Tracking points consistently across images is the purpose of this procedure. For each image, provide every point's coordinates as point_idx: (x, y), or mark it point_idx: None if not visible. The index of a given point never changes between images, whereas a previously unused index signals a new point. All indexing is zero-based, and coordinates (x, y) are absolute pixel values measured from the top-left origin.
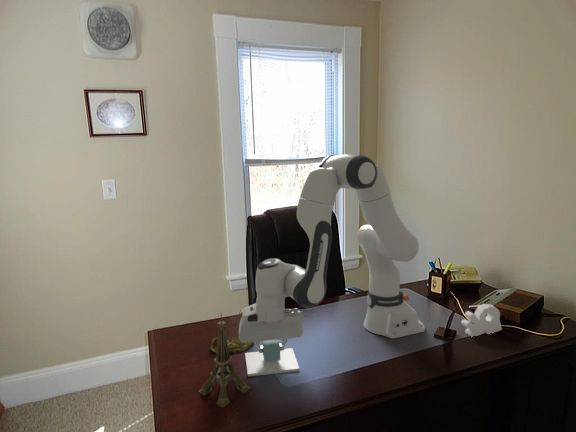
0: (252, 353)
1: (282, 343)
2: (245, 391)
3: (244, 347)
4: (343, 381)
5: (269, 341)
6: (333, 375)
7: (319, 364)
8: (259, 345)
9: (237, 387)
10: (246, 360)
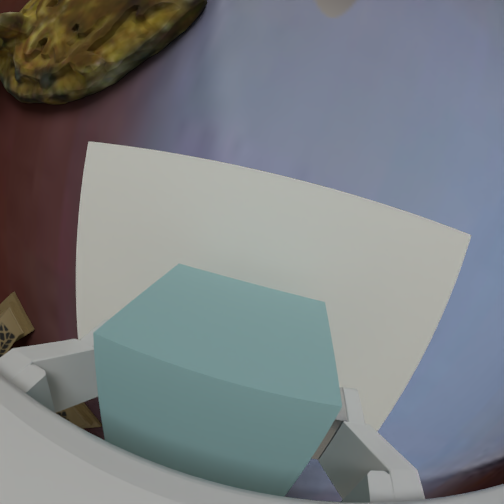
0: (130, 167)
1: (337, 465)
2: (85, 427)
3: (104, 68)
4: (440, 497)
5: (178, 430)
6: (446, 476)
7: (471, 418)
8: (71, 397)
9: None
10: (79, 244)
